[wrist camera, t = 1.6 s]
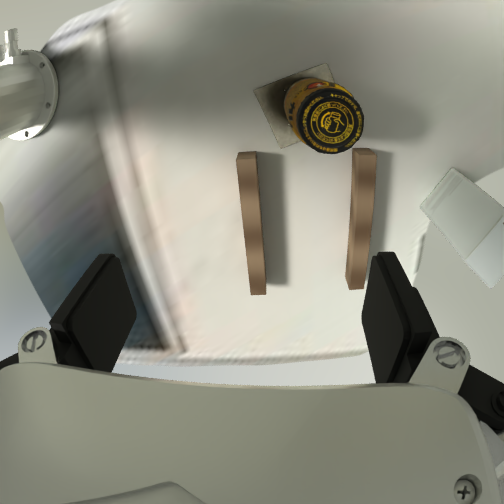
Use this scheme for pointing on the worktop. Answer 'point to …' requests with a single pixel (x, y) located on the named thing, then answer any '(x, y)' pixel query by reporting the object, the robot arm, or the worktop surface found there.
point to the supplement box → (469, 224)
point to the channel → (358, 225)
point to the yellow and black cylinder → (312, 111)
